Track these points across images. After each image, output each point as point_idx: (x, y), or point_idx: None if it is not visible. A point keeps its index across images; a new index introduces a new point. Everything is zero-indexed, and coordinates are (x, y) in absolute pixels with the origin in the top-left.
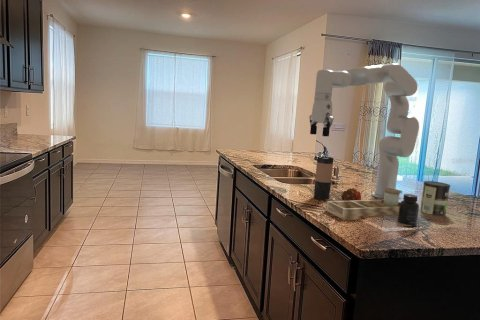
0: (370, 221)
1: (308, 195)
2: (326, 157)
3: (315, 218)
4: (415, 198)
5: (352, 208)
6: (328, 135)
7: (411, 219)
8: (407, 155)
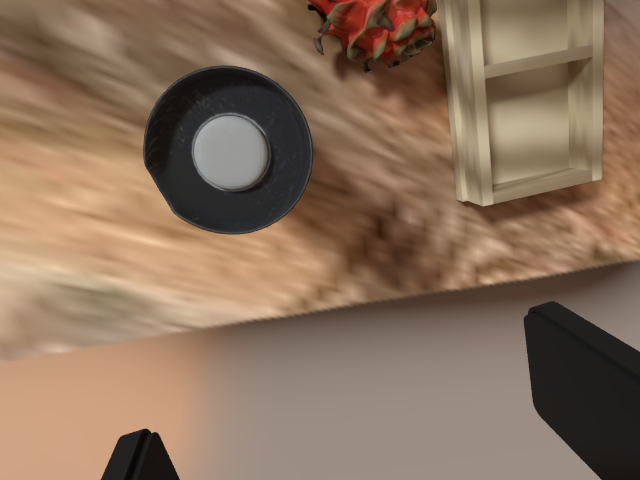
0: None
1: None
2: (157, 114)
3: (546, 274)
4: None
5: (595, 135)
6: (561, 313)
7: None
8: None
